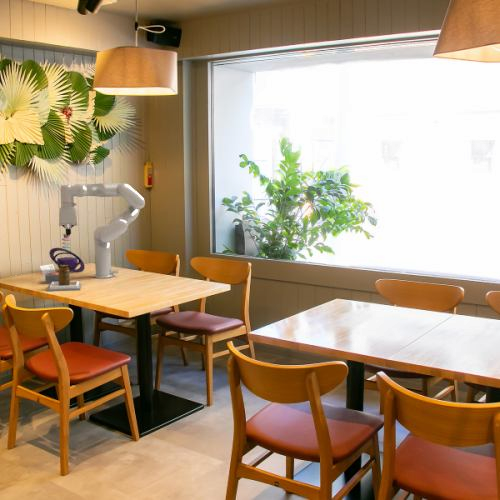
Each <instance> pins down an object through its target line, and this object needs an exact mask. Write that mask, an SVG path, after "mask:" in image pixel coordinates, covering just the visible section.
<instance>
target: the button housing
mask: <svg viewBox="0 0 500 500" xmlns="http://www.w3.org/2000/svg"><path fill="white" fill-rule="evenodd" d="M50 273H51V272H47V273H45V275H44V276H45V277H44V279H45V281H44V282H45V283H44V284H45V285H50V284H51V283H52V282H59V275H50Z"/></svg>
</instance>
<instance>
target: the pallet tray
mask: <svg viewBox="0 0 500 500" xmlns="http://www.w3.org/2000/svg"><path fill="white" fill-rule="evenodd" d="M82 284H83V283H82V282H80V280H70V285H68V286H57V285H59V282H52V283H51V284H48V287H47V288H46V292H60V291H61V292H63V291H64V292H65V291H81V289H82Z"/></svg>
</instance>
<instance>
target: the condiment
mask: <svg viewBox="0 0 500 500" xmlns="http://www.w3.org/2000/svg"><path fill="white" fill-rule="evenodd" d="M68 267H69V266H68V265H60V266H59V267H58V271H57V273H58V274H59V285H57V286H68V285H70V281H71V277H70V275H71V274H70V273H71V272H69V268H68Z"/></svg>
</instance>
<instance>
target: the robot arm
mask: <svg viewBox="0 0 500 500" xmlns="http://www.w3.org/2000/svg"><path fill="white" fill-rule="evenodd" d="M59 188H60V207H59V212H58V220H59V221H58V226H60V227H63V229H65V234H67V236H71V235H72V229H73V227H76V226H78V219H77V218H78V216H77V210H76V206H77V203H75V202H74V197H76V198H77V197H79V198H82V197H99V198H120V197H121V198H123V199H124V200H125V201H126V202H127V207H126V208H125V210H124V211H122V212H121V213H120V214H118V215H116V216H115V217H113V218H111V219H110V221H109V222H108V225H107V226H98V227H96V228H95V230H94V232H93V241H94V262H95V264H94V265H95V267H94V268H95V273H94V274H93V276H92V277H93V278H97V279H107V278H112V277H114V274H119V270H118V269H117V270H116V269H115V270H114V269H112V259H111V257H112V254H111V253H112V252H111V242H113V241H114V240H116V239H117V238H119V237H120V236H121V235H123V234H124V233H125V232H126V231H127V230H128V226H129V225H130V224H131V223H132V222H134V221H135V220H136V219H137V218H138V216H139V214H140V210H141V209H143V208H144V207H145V205H146V201H145V198H144V197H143V196H142V195H141V194H140V193H139V192H137V190H135V189H134V188H133V187H132V186H131V185H130V184H129V183H123V182H119V183H117V182H114V183H113V182H111V183H109V182H107V183H105V182H102V183H80V184H79V183H76V184H73V185H72V184H62V185H60V187H59ZM68 226H69V227H68Z"/></svg>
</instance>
